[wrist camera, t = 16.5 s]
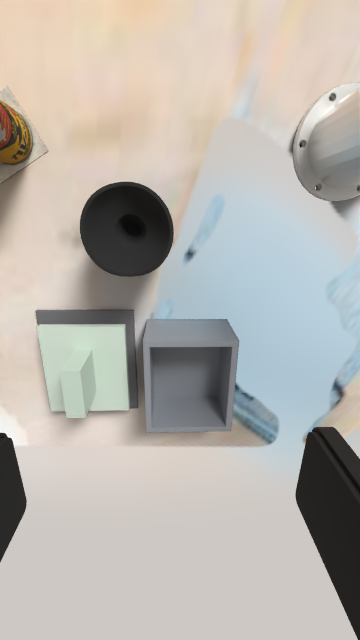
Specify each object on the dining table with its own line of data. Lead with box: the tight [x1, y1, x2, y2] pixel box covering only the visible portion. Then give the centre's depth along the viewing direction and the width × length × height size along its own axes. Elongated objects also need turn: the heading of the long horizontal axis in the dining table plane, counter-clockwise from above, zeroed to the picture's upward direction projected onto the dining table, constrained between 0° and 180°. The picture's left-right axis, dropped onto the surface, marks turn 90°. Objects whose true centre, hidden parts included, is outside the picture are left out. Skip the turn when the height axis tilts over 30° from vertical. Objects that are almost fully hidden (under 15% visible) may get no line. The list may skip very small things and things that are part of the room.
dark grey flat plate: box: [36, 310, 138, 408], centre depth 44 cm, size 14×17×1 cm
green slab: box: [37, 324, 130, 418], centre depth 40 cm, size 12×14×8 cm
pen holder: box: [80, 182, 174, 276], centre depth 34 cm, size 9×9×10 cm
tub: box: [143, 319, 239, 433], centre depth 42 cm, size 12×14×8 cm
